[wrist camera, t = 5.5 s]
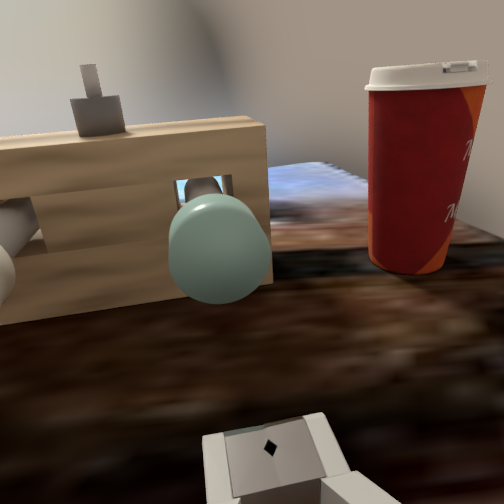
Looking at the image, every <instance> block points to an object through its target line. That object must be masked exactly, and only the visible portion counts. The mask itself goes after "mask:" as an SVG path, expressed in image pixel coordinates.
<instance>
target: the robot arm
mask: <svg viewBox="0 0 504 504" xmlns="http://www.w3.org/2000/svg"><path fill="white" fill-rule="evenodd" d="M224 437H225V439H224ZM225 445H226V446H225ZM202 446H203V458H204V471H205V483H206V496H207V504H401V503H400V502H398V501H397V500H396V499H394V498H393V497H392V496H390V495H389V494H388V493H386V492H385V491H384V490H382V489H381V488H380V487H378V486H377V485H376V484H374V483H373V482H372V481H370V480H369V479H368V478H366V477H365V476H364V475H362V474H361V473H360V472H358V471H352V472H351V471H350V468H349V466H348V464H347V462H346V460H345V458H344V455H343V453H342V451H341V449H340V447H339V445H338V442H337V440H336V438H335V436H334V434H333V432H332V429H331V427H330V425H329V423H328V421H327V418H326V416H325V415H324V414H323V413H322V412H320V413H315V414H310V415H305V416H298V417H294V418H289V419H285V420H280V421H276V422H271V423H266V424H263V425H260V426H255V427H249V428H243V429H237V430H232V431H226V432H224V433H223V432H221V433H216V434H211V435H205V436H203V439H202Z"/></svg>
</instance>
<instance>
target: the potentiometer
mask: <svg viewBox="0 0 504 504" xmlns="http://www.w3.org/2000/svg"><path fill="white" fill-rule="evenodd" d="M80 69H81V73H82V78H83V82H84V86H85V91H86V95H87V97H86V98H76V99H70V102H71V106H72V110H73V114H74V118H75V122H76V126H77V129H78V134H79V136H80V137H95V136H105V135H113V134H118V133H123V132H125V131H126V128H125V124H124V118H123V114H122V109H121V103H120V98H119V95H112V96H102V92H101V88H100V83H99V78H98V74H97V69H96V65H95V64H89V65H80Z"/></svg>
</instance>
